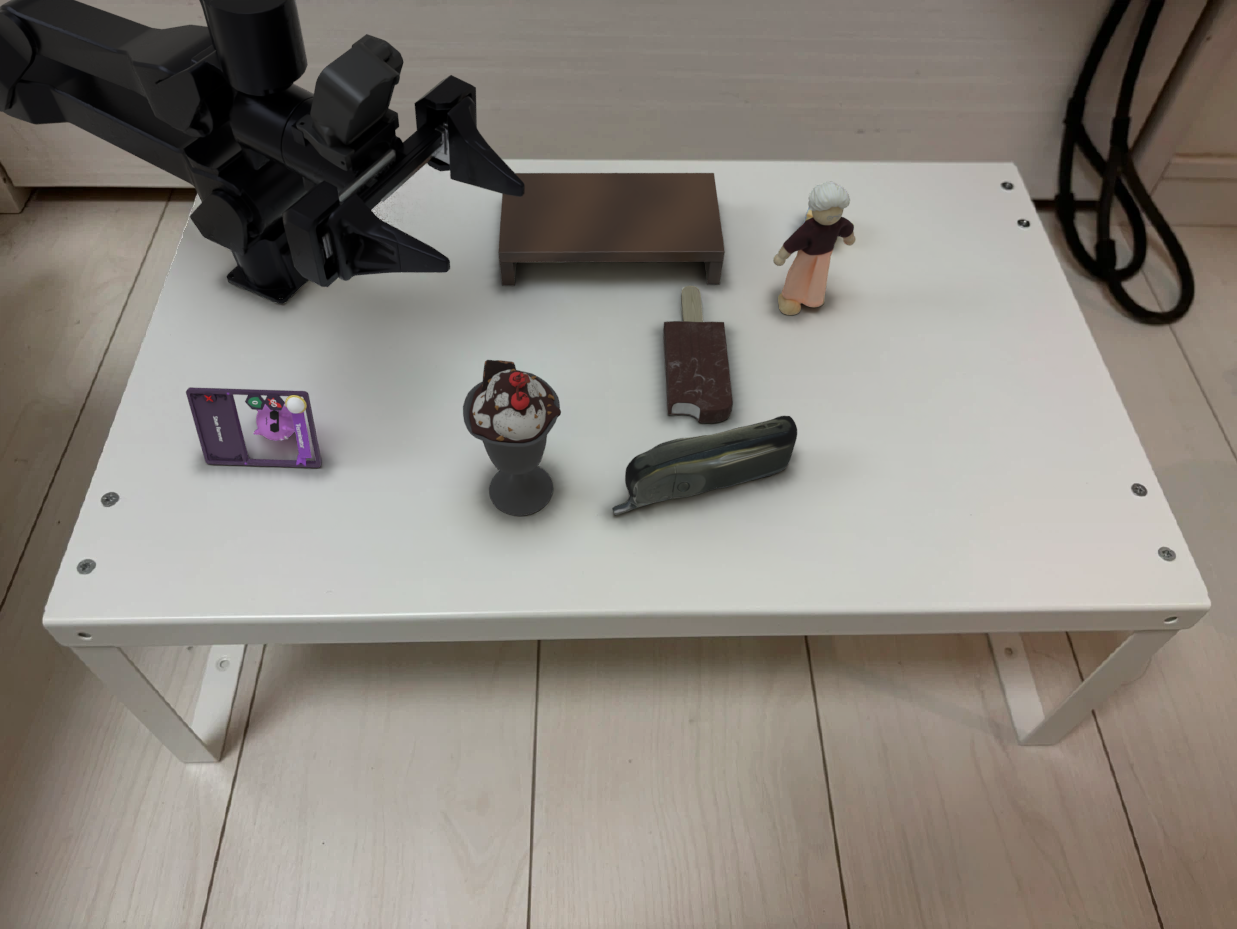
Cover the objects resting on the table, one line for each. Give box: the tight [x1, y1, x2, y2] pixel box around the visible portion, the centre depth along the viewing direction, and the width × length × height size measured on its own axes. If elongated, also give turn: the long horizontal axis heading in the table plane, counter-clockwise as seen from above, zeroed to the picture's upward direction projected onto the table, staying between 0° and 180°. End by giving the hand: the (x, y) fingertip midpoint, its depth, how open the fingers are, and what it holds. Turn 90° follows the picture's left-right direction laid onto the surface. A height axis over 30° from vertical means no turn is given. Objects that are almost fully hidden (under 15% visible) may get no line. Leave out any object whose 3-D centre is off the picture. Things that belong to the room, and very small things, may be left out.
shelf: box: [497, 172, 726, 287], centre depth 87 cm, size 20×11×4 cm, turn 92°
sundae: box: [462, 359, 562, 517], centre depth 66 cm, size 7×7×15 cm
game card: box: [185, 387, 323, 468], centre depth 72 cm, size 7×5×9 cm
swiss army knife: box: [611, 415, 798, 516], centre depth 71 cm, size 5×3×15 cm
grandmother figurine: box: [772, 180, 857, 316], centre depth 79 cm, size 8×4×13 cm, turn 123°
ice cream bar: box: [662, 285, 734, 424], centre depth 80 cm, size 5×2×15 cm
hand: (487, 226), depth 65 cm, fingers open, 9 cm apart
